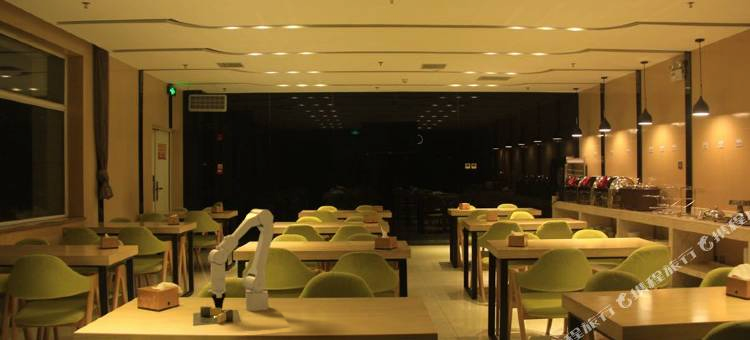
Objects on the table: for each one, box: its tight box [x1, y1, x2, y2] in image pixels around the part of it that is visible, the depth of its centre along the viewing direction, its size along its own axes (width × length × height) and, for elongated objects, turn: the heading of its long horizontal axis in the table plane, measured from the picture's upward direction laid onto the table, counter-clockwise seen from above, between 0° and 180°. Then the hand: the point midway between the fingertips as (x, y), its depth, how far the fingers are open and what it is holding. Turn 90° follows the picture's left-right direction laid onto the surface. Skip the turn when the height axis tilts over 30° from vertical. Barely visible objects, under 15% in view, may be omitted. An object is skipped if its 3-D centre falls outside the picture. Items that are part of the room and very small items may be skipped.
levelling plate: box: [192, 309, 242, 327], centre depth 234 cm, size 18×22×2 cm
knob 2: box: [217, 308, 234, 323], centre depth 228 cm, size 9×4×4 cm, turn 166°
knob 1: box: [199, 305, 223, 316], centre depth 237 cm, size 9×4×4 cm, turn 75°
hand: (218, 311), depth 238 cm, fingers closed, pressing on knob 1
